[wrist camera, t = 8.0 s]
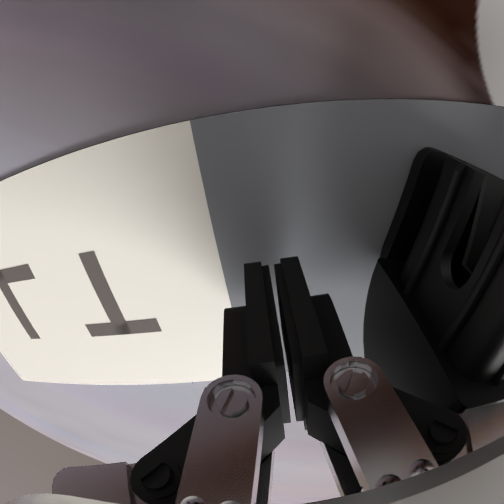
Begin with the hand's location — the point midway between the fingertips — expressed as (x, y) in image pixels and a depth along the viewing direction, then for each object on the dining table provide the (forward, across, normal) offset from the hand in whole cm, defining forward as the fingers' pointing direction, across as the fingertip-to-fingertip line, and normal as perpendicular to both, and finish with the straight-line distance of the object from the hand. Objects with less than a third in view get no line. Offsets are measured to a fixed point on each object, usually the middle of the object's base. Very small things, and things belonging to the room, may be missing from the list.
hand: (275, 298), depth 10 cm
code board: (+1, +9, 0) cm, 9 cm away
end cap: (+1, -8, 0) cm, 9 cm away
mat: (+1, -6, 0) cm, 7 cm away
